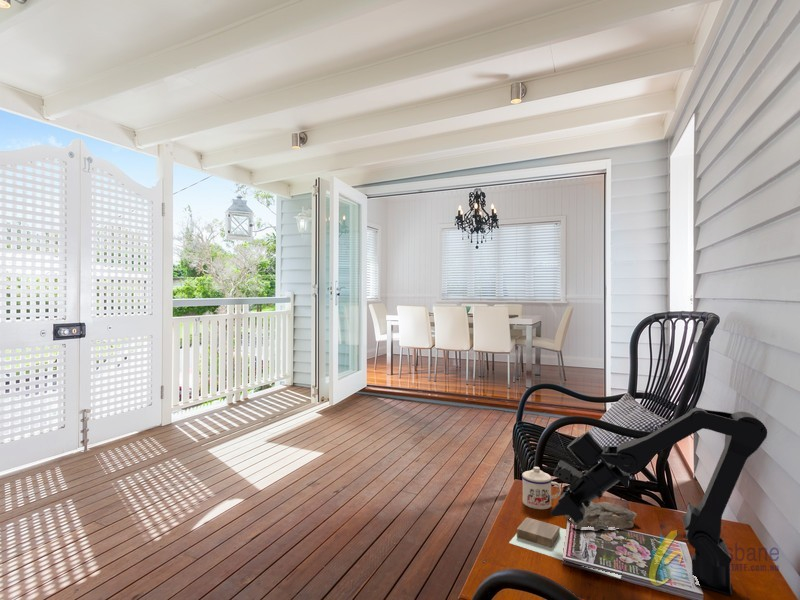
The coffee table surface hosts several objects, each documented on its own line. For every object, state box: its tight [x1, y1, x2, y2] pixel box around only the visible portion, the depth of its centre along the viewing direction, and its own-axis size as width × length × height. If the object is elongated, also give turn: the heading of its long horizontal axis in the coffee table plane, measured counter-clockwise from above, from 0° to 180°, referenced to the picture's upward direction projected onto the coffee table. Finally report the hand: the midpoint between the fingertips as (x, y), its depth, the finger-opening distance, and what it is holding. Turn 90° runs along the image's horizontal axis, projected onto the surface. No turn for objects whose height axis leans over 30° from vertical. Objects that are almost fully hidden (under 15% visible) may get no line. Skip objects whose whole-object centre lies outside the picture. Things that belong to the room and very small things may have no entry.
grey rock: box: [564, 501, 638, 530], centre depth 123 cm, size 14×5×20 cm
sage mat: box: [508, 527, 622, 579], centre depth 109 cm, size 26×16×1 cm, turn 55°
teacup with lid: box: [521, 466, 562, 510], centre depth 134 cm, size 12×9×12 cm
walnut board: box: [516, 517, 561, 548], centre depth 114 cm, size 2×8×9 cm
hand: (551, 514), depth 112 cm, fingers closed
